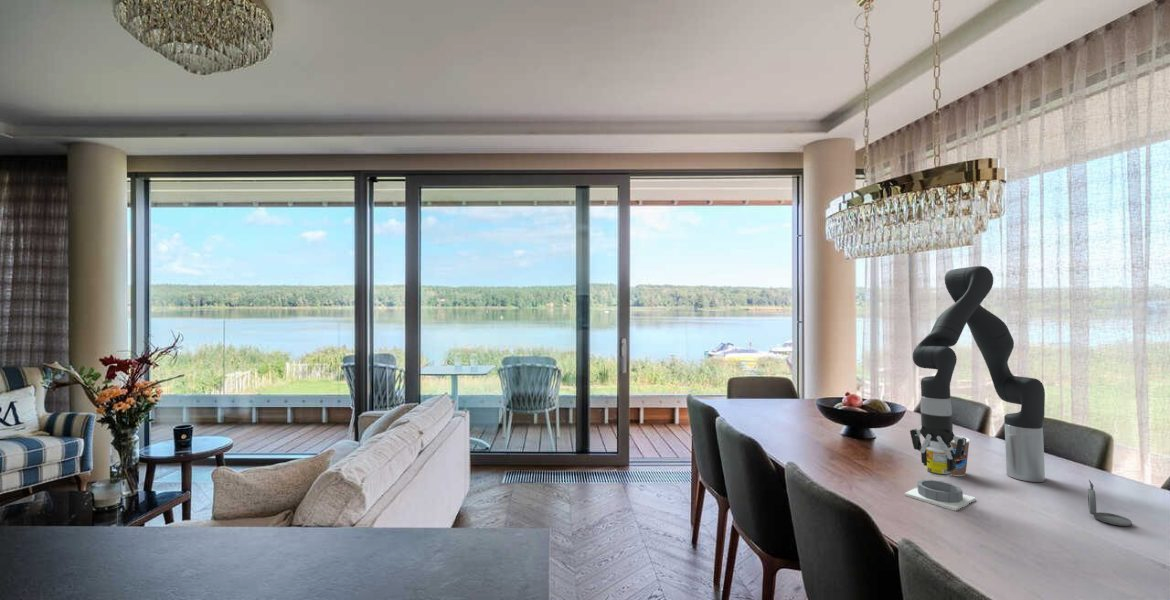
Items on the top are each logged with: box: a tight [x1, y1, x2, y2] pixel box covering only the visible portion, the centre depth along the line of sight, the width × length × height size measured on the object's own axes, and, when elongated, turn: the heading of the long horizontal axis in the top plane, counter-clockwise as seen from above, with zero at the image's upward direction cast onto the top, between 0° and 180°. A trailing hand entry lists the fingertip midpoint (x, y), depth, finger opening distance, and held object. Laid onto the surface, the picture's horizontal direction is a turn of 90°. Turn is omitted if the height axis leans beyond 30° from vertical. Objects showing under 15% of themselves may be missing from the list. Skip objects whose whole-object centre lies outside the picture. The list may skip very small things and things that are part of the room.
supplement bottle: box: [926, 440, 951, 478], centre depth 138 cm, size 6×6×10 cm
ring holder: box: [904, 479, 977, 512], centre depth 138 cm, size 13×13×4 cm
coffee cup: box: [950, 434, 971, 477], centre depth 158 cm, size 10×10×12 cm
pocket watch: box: [1087, 479, 1133, 527], centre depth 122 cm, size 8×8×10 cm
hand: (938, 467), depth 138 cm, fingers closed on supplement bottle, 5 cm apart
